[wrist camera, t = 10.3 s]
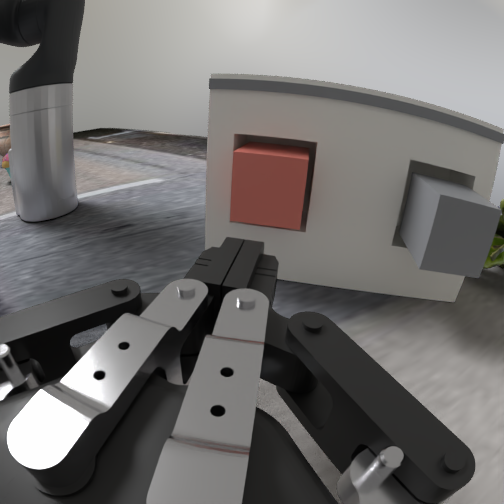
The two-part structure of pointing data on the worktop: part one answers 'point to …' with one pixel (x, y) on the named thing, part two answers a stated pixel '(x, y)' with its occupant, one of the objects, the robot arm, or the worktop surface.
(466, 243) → the grey button
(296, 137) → the push button box
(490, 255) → the passion flower
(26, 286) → the worktop surface
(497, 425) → the worktop surface
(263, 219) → the red button
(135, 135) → the worktop surface
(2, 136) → the cooking pot
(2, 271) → the worktop surface
